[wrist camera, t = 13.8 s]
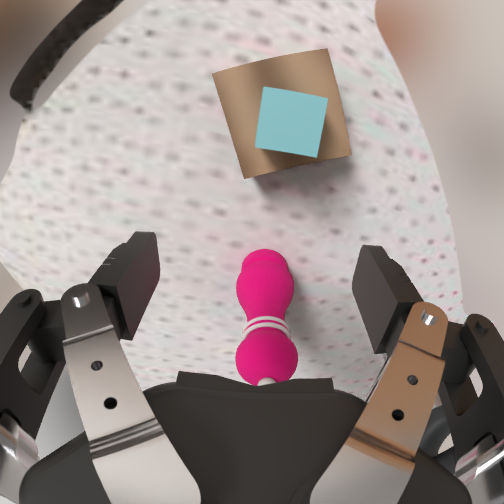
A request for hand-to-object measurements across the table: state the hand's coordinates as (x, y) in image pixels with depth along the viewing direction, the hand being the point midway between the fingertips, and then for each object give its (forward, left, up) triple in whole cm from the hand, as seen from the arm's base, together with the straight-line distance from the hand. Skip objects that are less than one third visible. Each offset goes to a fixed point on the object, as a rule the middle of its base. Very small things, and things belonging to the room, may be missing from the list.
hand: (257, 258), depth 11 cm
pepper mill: (-1, +17, -25) cm, 30 cm away
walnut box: (-2, -4, -25) cm, 25 cm away
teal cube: (-2, -4, -19) cm, 19 cm away
